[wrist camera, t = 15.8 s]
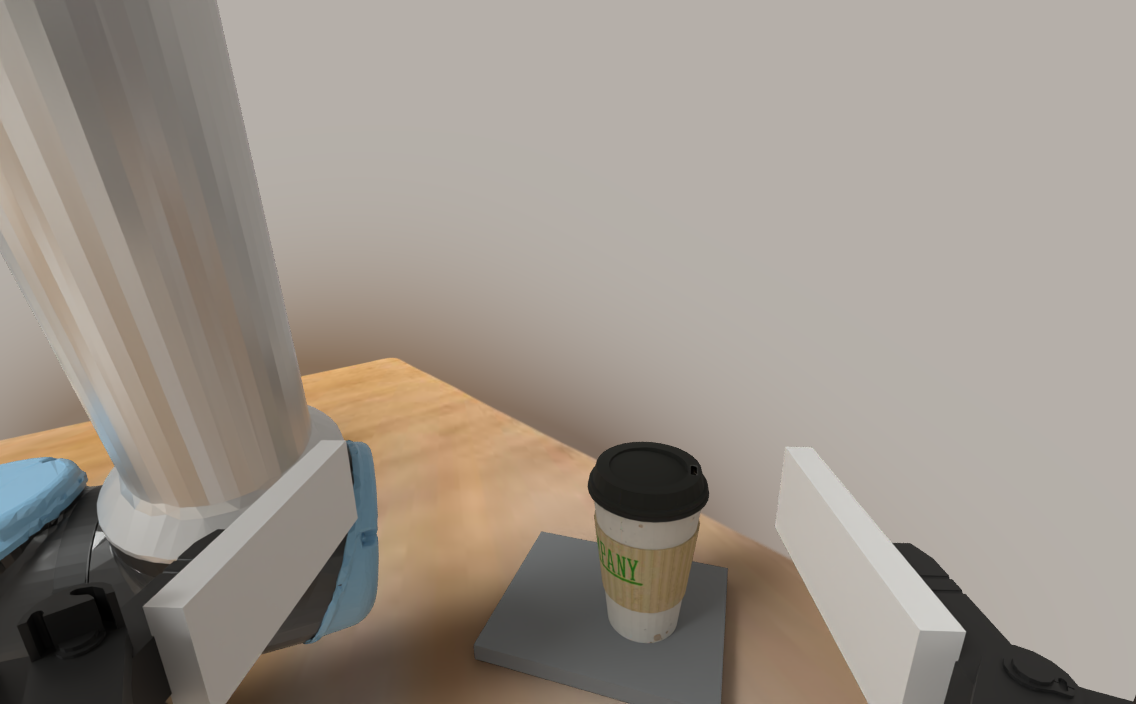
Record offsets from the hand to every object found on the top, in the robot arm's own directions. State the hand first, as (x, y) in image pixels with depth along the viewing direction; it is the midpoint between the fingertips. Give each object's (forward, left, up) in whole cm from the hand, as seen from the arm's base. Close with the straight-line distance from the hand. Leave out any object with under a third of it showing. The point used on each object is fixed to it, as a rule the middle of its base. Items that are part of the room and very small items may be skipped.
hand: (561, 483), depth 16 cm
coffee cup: (-1, +25, -28) cm, 38 cm away
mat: (-4, +25, -30) cm, 39 cm away
